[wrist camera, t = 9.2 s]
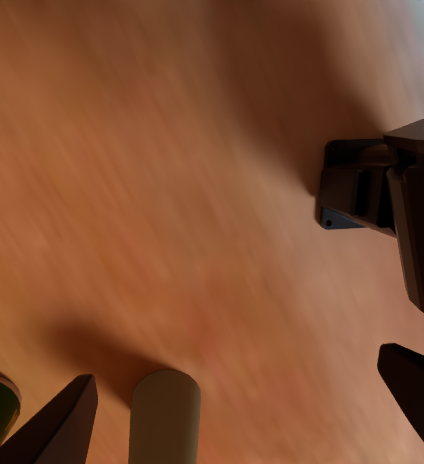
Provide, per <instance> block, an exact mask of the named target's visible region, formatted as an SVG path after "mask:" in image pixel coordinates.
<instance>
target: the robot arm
mask: <svg viewBox="0 0 424 464" xmlns="http://www.w3.org/2000/svg"><path fill="white" fill-rule="evenodd" d="M383 137H384V139H356V140H332V141H329V142H328V143H327V145H326V148H325V161H324V169H323V170H322V173H321V186H320V200H319V204H320V205H321V214H320V225H321V227H322V228H324V229H327V230H331V229H349V228H366V227H368V228H371V229H373V230H376V231H379V232H381V233H384V234H387V235H389V236H392V237H395V238H397V242H398V247H399V253H400V259H401V265H402V271H403V276H404V282H405V288H406V291H407V294H408V297H409V300H410V301H411V302H412V303H413V304H414V305H415V306H416V307H417V308H418V309H419V310H420V311H422V312H423V313H424V119H422V120H419V121H416V122H414V123H411V124H409V125H406V126H403V127H401V128H398V129H395V130H393V131H390V132H387V133H385V134H383ZM333 144H334V145H335V147H336V148H335V150H334V151H333V150H332V145H333ZM327 220H329V224H328V225H326V224H325V223H326V221H327ZM377 368H378V371H379V373H380V375H381V377H382V379H383V380H384V382H385V383H386V385H387V387H388V388H389V390H390V392H391V393H392V395H393V397H394V398H395V400H396V401H397V403H398V405H399V406H400V408H401V410H402V411H403V413H404V414H405V416H406V418H407V419H408V421H409V422H410V424H411V425H412V426H413V428H414V429H415V431H416V432H417V434H418V435H419V436H420V438H421V439H422V440H423V442H424V355H421V354H419V353H417V352H414V351H412V350H410V349H408V348H405V347H403V346H401V345H398V344H396V343H387V344H382V345H381V346H380V350H379V356H378V363H377ZM97 405H98V394H97V388H96V382H95V377H94V375H93V374H84V375H79V376H77V377H76V378H75V379H74V380H73V381H71V382H70V383H69V384H68V385H67V386H66V387H65V388H64V389H63V390H62V391H61V392H59V393H58V394H57V395H56V396H55V397H54V398H53V399H52V400H51V401H50V402H48V403H47V404H46V405H45V406H44V407H43V408H42V409H41V410H40V411H39V412H38V413H36V414H35V415H34V416H33V417H32V418H31V419H30V420H29V421H28V422H27V423H26V424H24V425H23V426H22V427H21V428H20V429H19V430H18V431H17V432H16V433H15V434H13V435H12V436H11V437H10V438H9V439H8V440H7V441H6V442H5V443H4V444H3V445H1V446H0V464H85V462H86V458H87V453H88V448H89V443H90V439H91V434H92V429H93V424H94V419H95V414H96V410H97Z"/></svg>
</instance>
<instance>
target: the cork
mask: <svg viewBox="0 0 424 464" xmlns="http://www.w3.org/2000/svg"><path fill="white" fill-rule="evenodd" d="M200 405H201V394H200V388H199V387H198V385H197V383H196V381H195V380H193V379H192V378H191V377H190V376H189V375H187V374H184V373H182V372H180V371H173V370H164V371H157V372H155V373H152V374H150V375H147V376H146V377H145V378H143V379H142V380H141V381H140V382H138V384H137V385H136V387H135V389H134V390H133V394H132V398H131V415H130V437H129V459H128V464H196V463H197V448H198V434H199V419H200Z"/></svg>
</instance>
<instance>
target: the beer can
mask: <svg viewBox="0 0 424 464" xmlns="http://www.w3.org/2000/svg"><path fill="white" fill-rule="evenodd" d="M20 409H21V395H20V392H19V390H18V389H17V387H16V386H15V385H14V384H13V383H12V382H10V381H9V380H7V379H6V378H3V377H0V446H1V444H2V443H3V441H4V440H5V438H6V436H7V435H8V433H9V432H10V430H11V428H12V427H13V425H14V424H15V422H16V420H17V418H18V416H19V415H20Z"/></svg>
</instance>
